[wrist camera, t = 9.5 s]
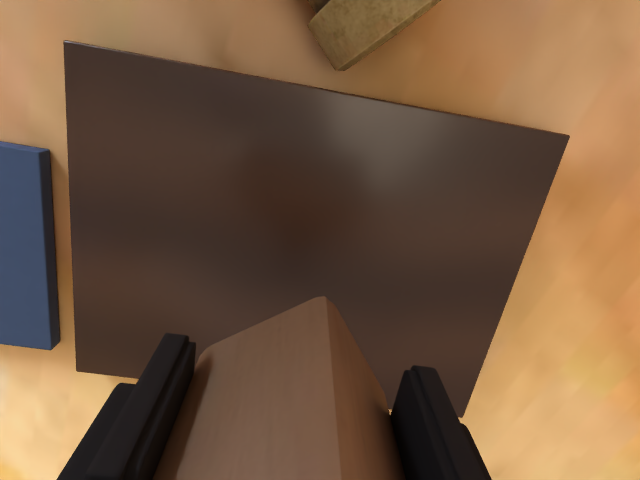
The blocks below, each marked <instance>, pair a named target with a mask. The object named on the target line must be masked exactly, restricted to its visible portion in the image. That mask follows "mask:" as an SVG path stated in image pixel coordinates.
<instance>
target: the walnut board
mask: <svg viewBox="0 0 640 480" xmlns="http://www.w3.org/2000/svg"><path fill="white" fill-rule="evenodd" d="M64 67H65V93H66V119H67V144H68V170H69V196H70V222H71V248H72V273H73V299H74V325H75V351H76V371H78V372H86V373H95V374H103V375H111V376H119V377H128V378H136V379H139V378H140V376H141V375H142V373H143V371H144V369H145V368H146V366H147V364H148V362H149V361H150V359H151V357H152V355H153V354H154V352H155V350H156V348H157V347H158V345H159V343H160V341H161V340H162V338H163V336H164V335H165V333H173V334H181V335H188V336H189V342H196V355H195V367H196V364H197V362H198V359H199V357H200V355H201V354H202V353H203V352H204V351H205V350H206V348H208V347H209V346H211V345H213V344H215V343H217V342H219V341H222V340H224V339H226V338H228V337H230V336H233V335H235V334H237V333H239V332H241V331H243V330H246V329H248V328H250V327H252V326H254V325H256V324H259V323H261V322H263V321H265V320H267V319H270V318H272V317H274V316H276V315H278V314H280V313H283V312H285V311H287V310H289V309H291V308H294V307H296V306H298V305H300V304H302V303H304V302H307V301H309V300H311V299H313V298H315V297H322V296H325V297H326V298H327V299H328V300H329V301H331V302H332V303H333V304H334V305H335V306H336V308H337V309H338V311H339V313H340V315H341V317H342V318H343V320H344V322H345V324H346V326H347V327H348V329H349V331H350V333H351V334H352V336H353V338H354V340H355V342H356V343H357V345H358V347H359V349H360V350H361V352H362V354H363V356H364V358H365V359H366V361H367V363H368V365H369V366H370V368H371V370H372V372H373V374H374V375H375V377H376V379H377V381H378V383H379V384H380V386H381V388H382V390H383V391H384V393H385V398H386V402H387V406H388V409H393V405H394V402H395V399H396V395H397V392H398V389H399V386H400V382H401V379H402V376H403V373H404V371H405V370H410V369H411V367H412V366H413V365H418V366H425V367H433V368H435V369H436V370H437V372H438V374H439V377H440V379H441V381H442V383H443V386H444V388H445V390H446V392H447V394H448V397H449V399H450V401H451V403H452V406H453V408H454V410H455V412H456V415H457V417H460V418H462V417H463V415H464V413H465V410H466V407H467V405H468V402H469V399H470V397H471V394H472V392H473V389H474V386H475V384H476V381H477V378H478V376H479V373H480V371H481V368H482V365H483V363H484V360H485V358H486V355H487V352H488V350H489V347H490V344H491V342H492V339H493V337H494V334H495V331H496V329H497V326H498V324H499V321H500V318H501V316H502V313H503V310H504V308H505V305H506V303H507V300H508V297H509V295H510V292H511V289H512V287H513V284H514V282H515V279H516V276H517V274H518V271H519V269H520V266H521V263H522V261H523V258H524V255H525V253H526V250H527V248H528V245H529V242H530V240H531V237H532V235H533V232H534V229H535V227H536V224H537V221H538V219H539V216H540V214H541V211H542V208H543V206H544V203H545V200H546V198H547V195H548V193H549V190H550V187H551V185H552V182H553V180H554V177H555V174H556V172H557V169H558V166H559V164H560V161H561V159H562V156H563V153H564V151H565V148H566V145H567V143H568V140H569V138H570V136H569V135H566V134H561V133H556V132H551V131H545V130H540V129H535V128H529V127H524V126H519V125H514V124H508V123H503V122H498V121H492V120H487V119H482V118H476V117H471V116H466V115H461V114H455V113H450V112H445V111H439V110H434V109H429V108H423V107H418V106H413V105H408V104H402V103H397V102H392V101H386V100H381V99H376V98H370V97H365V96H360V95H355V94H349V93H344V92H339V91H333V90H328V89H323V88H317V87H312V86H307V85H302V84H296V83H291V82H286V81H280V80H275V79H270V78H264V77H259V76H254V75H248V74H243V73H238V72H233V71H227V70H222V69H217V68H211V67H206V66H201V65H195V64H190V63H185V62H180V61H174V60H169V59H164V58H158V57H153V56H148V55H142V54H137V53H132V52H127V51H121V50H116V49H111V48H105V47H100V46H95V45H89V44H84V43H78V42H73V41H67V40H65V41H64ZM195 367H194V369H195Z"/></svg>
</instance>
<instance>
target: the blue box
mask: <svg viewBox="0 0 640 480" xmlns="http://www.w3.org/2000/svg"><path fill="white" fill-rule="evenodd" d="M59 342H60V334H59V315H58V297H57V278H56V260H55V241H54V223H53V205H52V186H51V168H50V151H49V150H48V149H44V148H37V147H31V146H25V145H19V144H13V143H7V142H1V141H0V344H4V345H12V346H20V347H29V348H37V349H45V350H52V349H53V348H54V347H55V346H56V345H57V344H58V343H59Z"/></svg>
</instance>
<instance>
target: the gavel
mask: <svg viewBox="0 0 640 480" xmlns="http://www.w3.org/2000/svg"><path fill="white" fill-rule="evenodd" d="M439 1H441V0H308V2H309V3H310V5H311V7H312V8H313V10H314V11H315V13H316V15H315V16H314V17H313V19H312V20H311V21H310V22H309V24H308V28H309V29H310V31H311V32H312V34H313V36H314V37H315V39H316V40H317V42H318V44H319V45H320V47H321V48H322V50H323V51H324V53H325V55H326V56H327V58H328V59H329V61H330V63H331V64H332V66H333V67H334V69H335V71H345V70H346V69H348V68H349V67H351V66H352V65H354V64H355V63H357V62H358V61H360V60H361V59H363V58H364V57H365V56H367V55H368V54H370V53H371V52H372V51H374V50H375V49H377V48H378V47H379V46H381V45H382V44H384V43H385V42H386V41H388V40H389V39H390V38H392V37H393V36H394V35H396V34H397V33H399V32H400V31H401V30H403V29H404V28H405V27H407V26H408V25H409V24H411V23H412V22H413V21H415V20H416V19H417V18H419V17H420V16H421V15H423V14H424V13H425V12H427V11H428V10H429V9H430V8H432V7H433V6H434V5H436V4H437V3H438V2H439Z"/></svg>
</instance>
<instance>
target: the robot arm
mask: <svg viewBox="0 0 640 480" xmlns="http://www.w3.org/2000/svg"><path fill="white" fill-rule="evenodd" d="M195 355H196V342H189V336H188V335H181V334H173V333H165V335H164V336H163V338H162V340H161V341H160V343H159V345H158V347H157V348H156V350H155V352H154V354H153V355H152V357H151V359H150V361H149V362H148V364H147V366H146V368H145V369H144V371H143V373H142V375H141V376H140V378H139V380H138V382H137V383H136V384H127V383H119V384H118V385H117V386H116V387H115V388H114V390H113V391H112V393H111V394H110V396H109V398H108V399H107V401H106V402H105V404H104V405H103V407H102V409H101V410H100V412H99V413H98V415H97V417H96V418H95V420H94V421H93V423H92V424H91V426H90V428H89V429H88V431H87V432H86V434H85V435H84V437H83V439H82V440H81V442H80V443H79V445H78V447H77V448H76V450H75V451H74V453H73V454H72V456H71V458H70V459H69V461H68V462H67V464H66V466H65V467H64V469H63V470H62V472H61V473H60V475H59V477H58V478H57V480H152V479H153V476H154V474H155V471H156V469H157V466H158V464H159V461H160V459H161V456H162V453H163V451H164V448H165V446H166V443H167V441H168V438H169V436H170V433H171V431H172V428H173V425H174V423H175V420H176V418H177V415H178V413H179V410H180V408H181V405H182V402H183V400H184V397H185V395H186V392H187V390H188V387H189V385H190V382H191V379H192V377H193V374H194V367H195ZM390 418H391V422H392V426H393V430H394V434H395V438H396V442H397V446H398V450H399V454H400V458H401V462H402V466H403V470H404V474H405V478H406V480H492V479H491V477H490V475H489V473H488V470H487V468H486V466H485V464H484V462H483V460H482V458H481V455H480V453H479V451H478V449H477V447H476V445H475V442H474V440H473V438H472V436H471V434H470V432H469V430H468V428H467V427H466V426H465V425H464V424H462V423H460V421H459V419H458V417H457V415H456V412H455V410H454V408H453V406H452V403H451V401H450V399H449V397H448V394H447V392H446V390H445V388H444V386H443V383H442V381H441V379H440V377H439V374H438V372H437V370H436V369H435V368H433V367H425V366H418V365H413V366H412V367H411V369H410V370H405V371H404V373H403V376H402V379H401V382H400V386H399V389H398V392H397V395H396V399H395V402H394V405H393V409H392V412H391V415H390Z"/></svg>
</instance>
